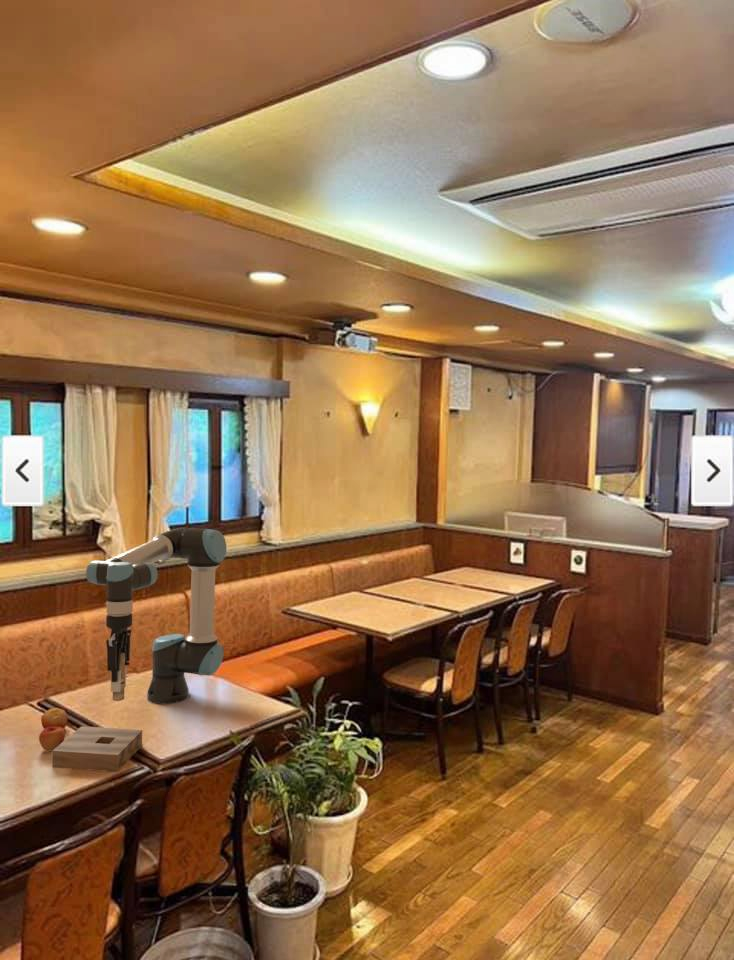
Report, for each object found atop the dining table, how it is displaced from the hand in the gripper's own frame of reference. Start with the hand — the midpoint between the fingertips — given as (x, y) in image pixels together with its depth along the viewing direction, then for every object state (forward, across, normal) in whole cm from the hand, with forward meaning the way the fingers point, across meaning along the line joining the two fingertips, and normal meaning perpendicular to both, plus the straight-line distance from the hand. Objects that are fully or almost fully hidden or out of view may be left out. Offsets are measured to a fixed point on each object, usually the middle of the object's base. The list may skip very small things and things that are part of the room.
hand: (118, 688), depth 215 cm
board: (+21, +1, -5) cm, 22 cm away
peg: (+3, 0, 0) cm, 3 cm away
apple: (+21, -1, -21) cm, 30 cm away
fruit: (+21, -16, -28) cm, 38 cm away
